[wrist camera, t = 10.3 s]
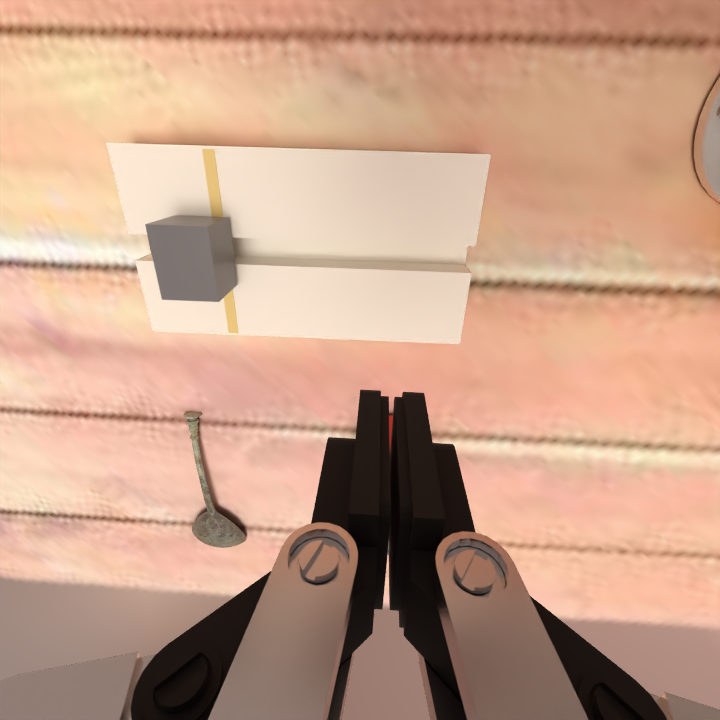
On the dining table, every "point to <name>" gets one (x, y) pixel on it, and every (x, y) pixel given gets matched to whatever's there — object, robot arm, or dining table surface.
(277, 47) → the dining table surface
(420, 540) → the robot arm
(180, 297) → the fader knob
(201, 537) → the soupspoon
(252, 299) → the slider console
